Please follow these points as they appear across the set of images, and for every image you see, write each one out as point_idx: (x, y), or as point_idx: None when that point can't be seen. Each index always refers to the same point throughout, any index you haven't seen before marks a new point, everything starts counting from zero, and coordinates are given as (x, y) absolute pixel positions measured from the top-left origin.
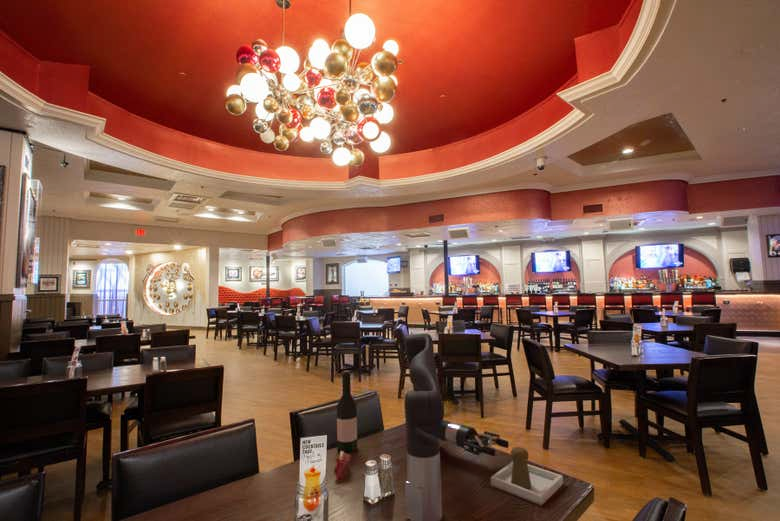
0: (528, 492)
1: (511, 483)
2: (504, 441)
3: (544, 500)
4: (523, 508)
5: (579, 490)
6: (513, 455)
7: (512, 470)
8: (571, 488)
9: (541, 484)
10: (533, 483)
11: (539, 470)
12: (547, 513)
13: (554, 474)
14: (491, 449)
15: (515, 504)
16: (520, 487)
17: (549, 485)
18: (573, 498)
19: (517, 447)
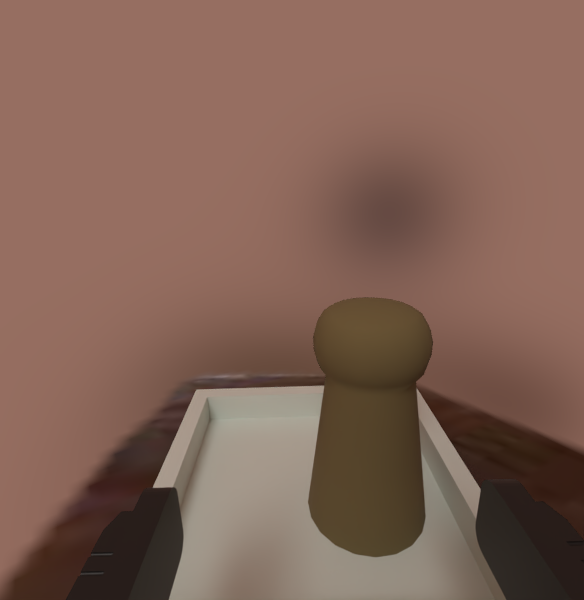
0: (431, 415)
1: (456, 483)
2: (161, 523)
3: None
4: (492, 438)
5: (217, 385)
6: (432, 341)
7: (412, 455)
8: None
9: (276, 448)
10: (294, 472)
11: (185, 460)
12: (428, 392)
13: (202, 406)
14: (535, 509)
15: (510, 465)
16: (439, 441)
17: (312, 390)
18: (280, 381)
19: (365, 311)
